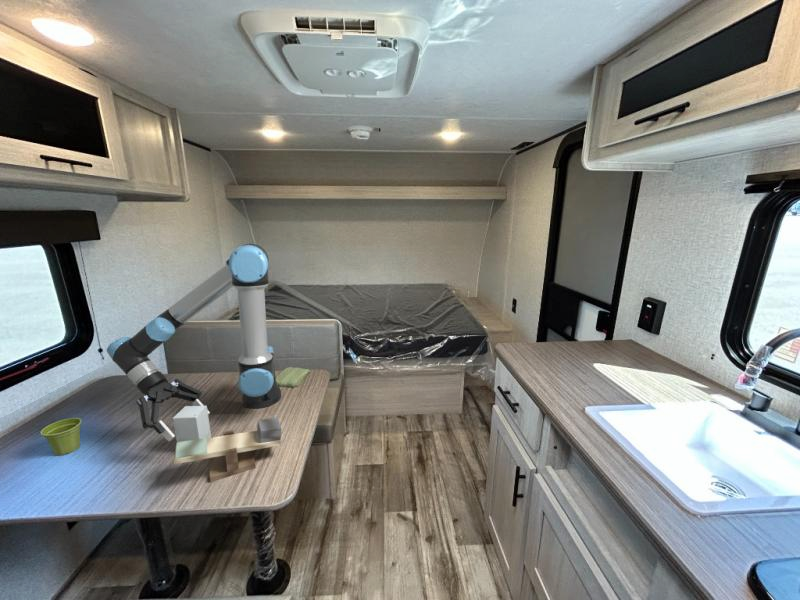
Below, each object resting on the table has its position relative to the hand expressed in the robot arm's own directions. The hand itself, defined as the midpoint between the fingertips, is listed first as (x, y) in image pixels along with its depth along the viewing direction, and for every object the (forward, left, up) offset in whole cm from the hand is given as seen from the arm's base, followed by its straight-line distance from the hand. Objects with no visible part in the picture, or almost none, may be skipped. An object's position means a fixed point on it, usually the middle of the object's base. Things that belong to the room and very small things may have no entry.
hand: (190, 426), depth 111 cm
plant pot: (+13, -38, -7) cm, 40 cm away
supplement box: (0, 0, -7) cm, 8 cm away
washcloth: (-53, +3, -8) cm, 53 cm away
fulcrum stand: (+4, +18, -7) cm, 20 cm away
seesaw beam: (+4, +18, -1) cm, 19 cm away
